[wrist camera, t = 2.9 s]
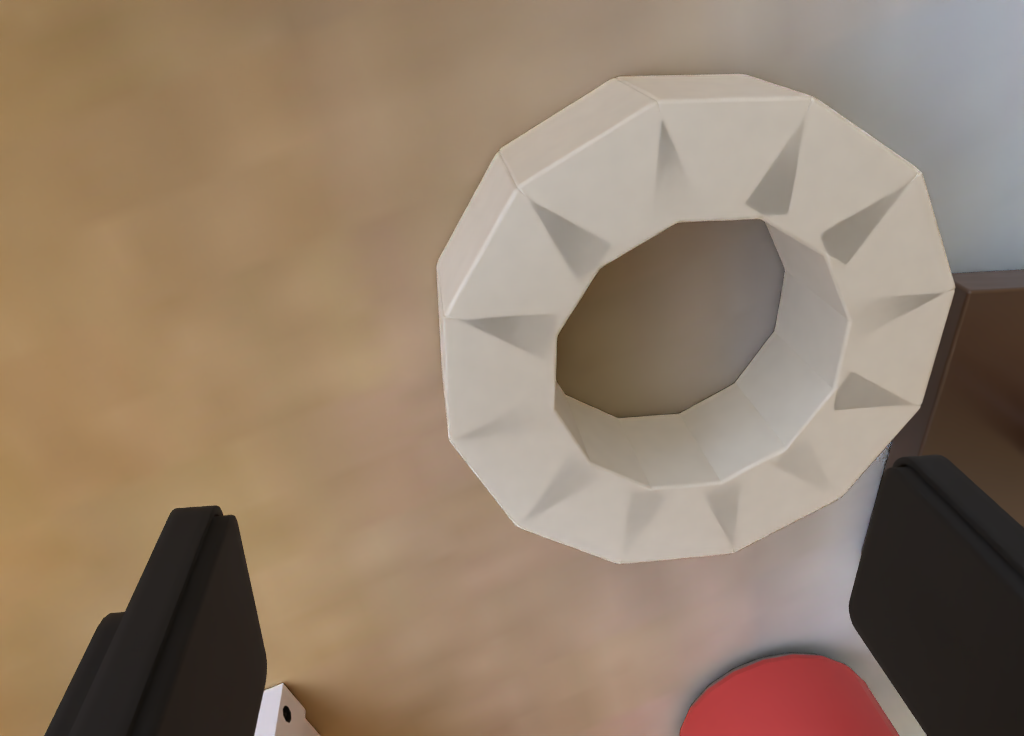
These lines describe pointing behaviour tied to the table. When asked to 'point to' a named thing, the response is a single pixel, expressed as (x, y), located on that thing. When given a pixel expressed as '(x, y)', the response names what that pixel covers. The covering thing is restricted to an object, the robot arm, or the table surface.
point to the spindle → (977, 390)
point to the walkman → (282, 715)
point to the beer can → (788, 701)
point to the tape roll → (772, 372)
